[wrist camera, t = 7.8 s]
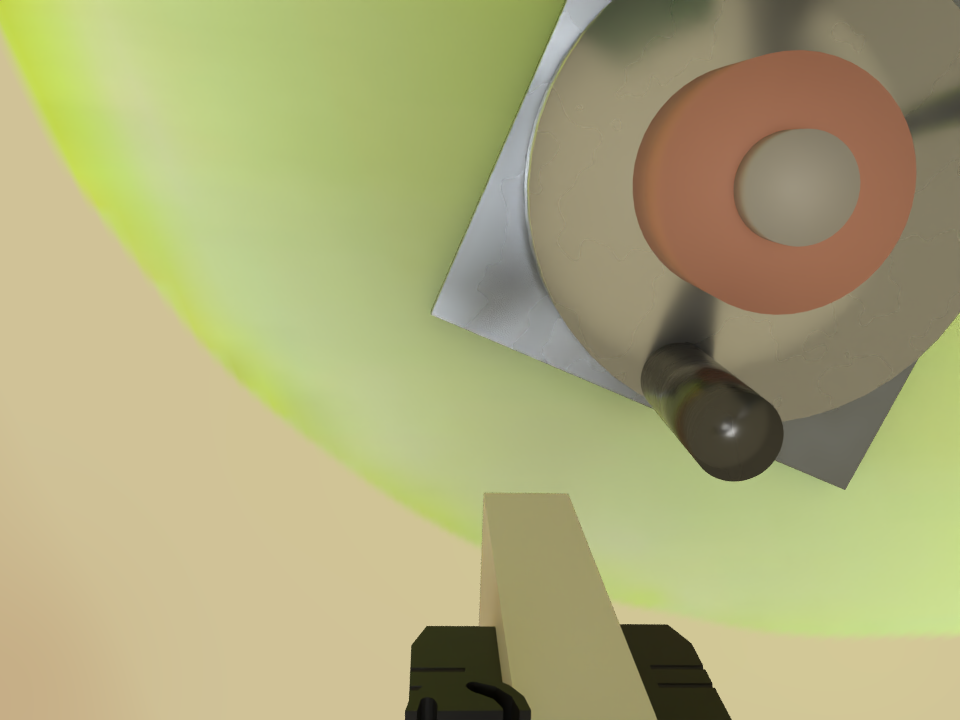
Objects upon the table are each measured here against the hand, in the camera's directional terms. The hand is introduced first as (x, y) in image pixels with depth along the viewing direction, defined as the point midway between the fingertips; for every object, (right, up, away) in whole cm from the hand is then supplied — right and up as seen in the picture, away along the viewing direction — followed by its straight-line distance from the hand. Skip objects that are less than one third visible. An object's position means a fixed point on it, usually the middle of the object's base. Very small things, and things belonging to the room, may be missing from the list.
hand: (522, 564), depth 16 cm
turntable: (+8, +9, +14) cm, 19 cm away
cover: (+7, +9, +12) cm, 16 cm away
